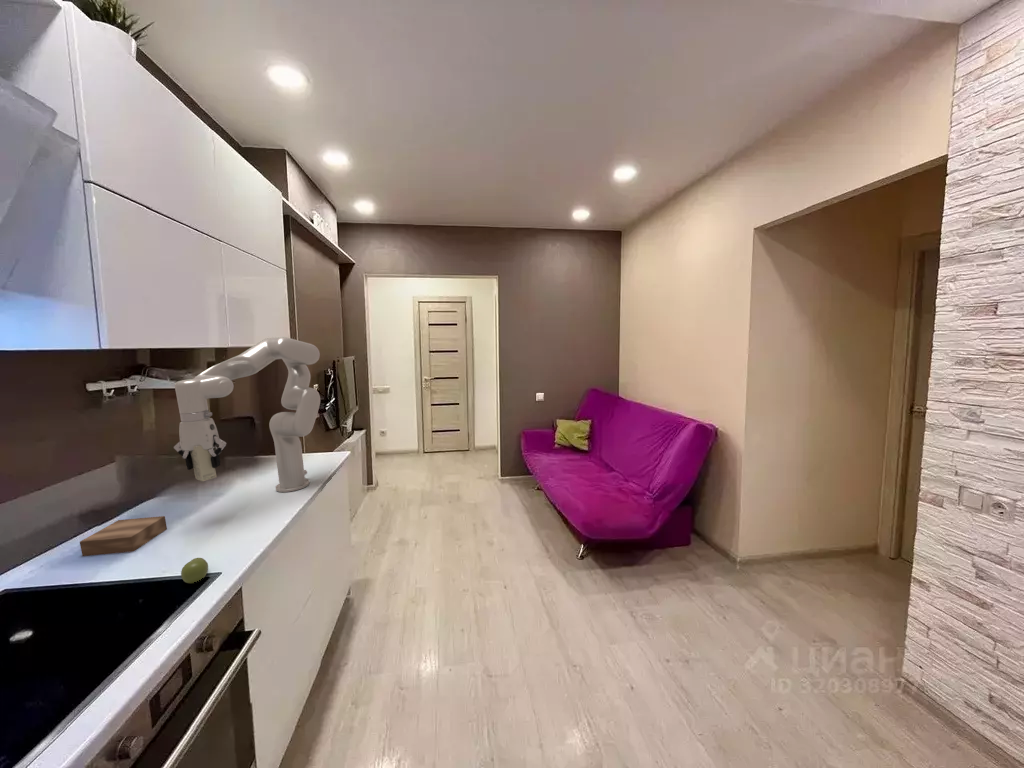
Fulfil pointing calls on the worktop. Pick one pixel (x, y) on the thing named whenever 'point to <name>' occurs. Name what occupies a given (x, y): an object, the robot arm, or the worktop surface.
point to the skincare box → (202, 464)
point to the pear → (194, 570)
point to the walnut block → (123, 536)
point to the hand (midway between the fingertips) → (204, 467)
